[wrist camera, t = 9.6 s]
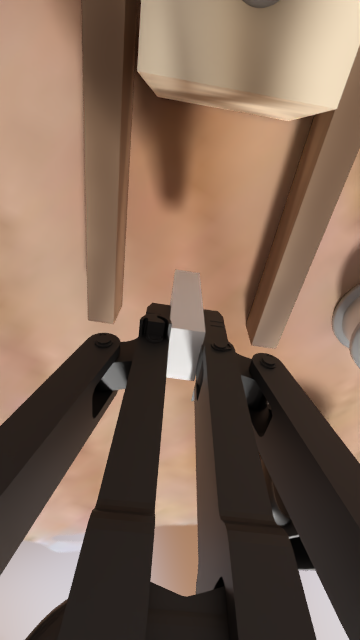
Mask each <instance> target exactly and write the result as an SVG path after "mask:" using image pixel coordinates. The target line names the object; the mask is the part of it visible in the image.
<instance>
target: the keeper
mask: <svg viewBox="0 0 360 640" xmlns="http://www.w3.org/2000/svg"><path fill="white" fill-rule="evenodd" d="M359 46H360V0H141V12H140V30H139V48H138V65H137V72H138V73H139V74H140V75H141V77H142V78H143V79H144V80H145V82H146V83H147V84H148V85H149V87H150V88H151V89H152V90H153V92H154V93H155V94H156V95H157V97H161V98H167V99H172V100H178V101H183V102H188V103H194V104H199V105H204V106H210V107H215V108H220V109H226V110H231V111H237V112H242V113H247V114H253V115H258V116H263V117H269V118H274V119H279V120H285V121H291V120H295V119H299V118H303V117H307V116H311V115H315V114H319V113H323V112H327V111H331V110H335V109H337V107H338V104H339V101H340V99H341V96H342V93H343V90H344V87H345V85H346V82H347V79H348V76H349V73H350V71H351V68H352V65H353V62H354V59H355V57H356V54H357V51H358V48H359Z"/></svg>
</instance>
